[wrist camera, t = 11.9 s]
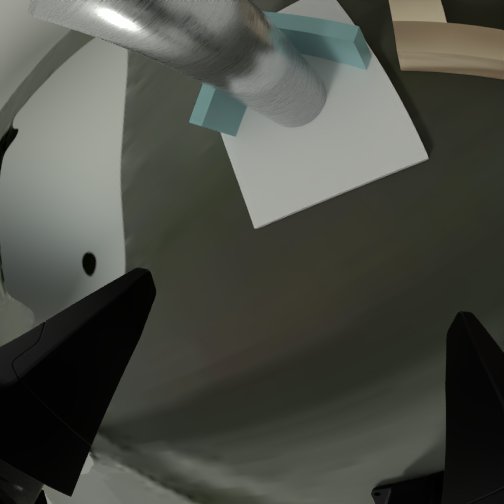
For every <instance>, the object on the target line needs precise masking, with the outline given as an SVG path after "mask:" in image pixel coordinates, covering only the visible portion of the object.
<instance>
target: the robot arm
mask: <svg viewBox="0 0 504 504" xmlns="http://www.w3.org/2000/svg"><path fill="white" fill-rule="evenodd" d="M155 296H156V288H155V285H154V281H153V278H152V275H151V272H150V271H149V270H148V269H144V268H135V269H133V270H131V271H130V272H128V273H126V274H124V275H123V276H121V277H119V278H117V279H116V280H114V281H113V282H111V283H109V284H107V285H105V286H104V287H102V288H100V289H98V290H97V291H95V292H93V293H92V294H90V295H88V296H86V297H85V298H83V299H81V300H80V301H78V302H76V303H75V304H73V305H71V306H70V307H68V308H66V309H65V310H63V311H61V312H60V313H58V314H56V315H55V316H53V317H51V318H50V319H48V320H46V322H43V323H41V324H40V325H39V326H37V327H35V328H33V329H32V330H30V331H28V332H27V333H25V334H23V335H21V336H19V337H18V338H16V339H14V340H12V341H10V342H8V343H6V344H5V345H3V346H1V347H0V504H47V500H46V497H45V493H44V490H42V488H43V486H44V484H45V485H47V486H49V487H51V488H53V489H55V490H57V491H59V492H61V493H63V494H65V495H68V496H70V497H71V496H72V494H73V491H74V489H75V486H76V483H77V481H78V478H79V476H80V473H81V471H82V468H83V465H84V463H85V460H86V458H87V456H88V453H89V451H90V448H91V445H92V443H93V441H94V438H95V436H96V434H97V431H98V429H99V426H100V424H101V422H102V420H103V417H104V415H105V413H106V410H107V408H108V406H109V404H110V401H111V399H112V397H113V395H114V392H115V390H116V388H117V386H118V384H119V381H120V379H121V377H122V375H123V373H124V371H125V369H126V366H127V364H128V362H129V360H130V358H131V356H132V354H133V352H134V350H135V347H136V345H137V343H138V341H139V339H140V337H141V334H142V332H143V329H144V326H145V323H146V321H147V318H148V315H149V312H150V310H151V307H152V304H153V302H154V299H155ZM445 392H446V453H445V471H442V472H439V473H435V474H432V475H428V476H424V477H420V478H416V479H412V480H408V481H404V482H399V483H394V484H389V485H384V486H379V487H375V488H373V490H372V493H371V495H372V497H373V499H374V501H375V503H376V504H504V353H503V351H502V350H501V349H500V347H499V346H498V345H497V343H496V342H495V341H494V339H493V338H492V337H491V336H490V334H489V333H488V332H487V330H486V329H485V328H484V327H483V325H482V324H481V323H480V322H479V320H478V319H477V318H476V317H475V316H474V314H473V313H471V312H463V311H460V312H458V313H457V315H456V317H455V319H454V321H453V322H452V324H451V326H450V328H449V330H448V333H447V339H446V380H445ZM378 492H379V493H378Z"/></svg>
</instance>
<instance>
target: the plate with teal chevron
mask: <svg viewBox="0 0 504 504" xmlns="http://www.w3.org/2000/svg"><path fill="white" fill-rule="evenodd" d="M263 13H264V14H265V15H266V16H267V17H268V18H269V19H270V20H271V21H272V22H273V23H274V24H275V25H276V26H277V27H278V29H279V30H280V31H281V32H282V33H283V34H284V35H285V36H286V37H287V38H288V39H289V41H290V42H291V43H292V44H293V45H294V46H295V47H296V49H297V50H298V51H299V52H300V53H301V54H302V56H303V57H304V58H305V59H306V60H307V61H308V63H309V64H310V65H311V66H312V67H313V69H314V70H315V71H316V72H317V74H318V75H319V76H320V77H321V79H322V80H323V82H324V84H325V87H326V101H325V105H324V107H323V109H322V111H321V112H320V114H319V115H318V116H317V117H316V118H315V119H314V120H313V121H311V122H309V123H308V124H306V125H303V126H300V127H293V128H290V127H283V126H280V125H278V124H276V123H275V122H273V121H271V120H270V119H268V118H266V117H264V116H263V115H261V114H259V113H257V112H256V111H254V110H252V109H250V108H249V107H247V106H245V105H243V104H241V103H240V102H238V101H236V100H234V99H232V98H230V97H229V96H227V95H225V94H223V93H221V92H219V91H217V90H215V89H213V88H211V87H209V86H207V85H205V84H203V86H202V88H201V91H200V94H199V96H198V99H197V102H196V104H195V107H194V110H193V113H192V115H191V118H190V121H189V123H193V124H196V125H199V126H203V127H206V128H209V129H212V130H215V131H219V132H220V133H221V135H222V138H223V141H224V144H225V147H226V149H227V152H228V155H229V158H230V160H231V163H232V166H233V169H234V172H235V174H236V177H237V180H238V183H239V186H240V188H241V191H242V194H243V197H244V200H245V203H246V205H247V208H248V211H249V214H250V217H251V220H252V222H253V225H254V228H260V227H263V226H265V225H268V224H270V223H272V222H275V221H277V220H280V219H282V218H284V217H287V216H289V215H292V214H294V213H296V212H299V211H301V210H304V209H306V208H309V207H311V206H313V205H316V204H318V203H321V202H323V201H326V200H328V199H330V198H333V197H335V196H338V195H340V194H343V193H345V192H348V191H350V190H353V189H355V188H358V187H360V186H363V185H365V184H368V183H370V182H373V181H375V180H378V179H380V178H383V177H385V176H388V175H390V174H393V173H395V172H398V171H400V170H403V169H405V168H408V167H410V166H413V165H415V164H418V163H421V162H423V161H426V160H428V155H427V153H426V151H425V148H424V146H423V144H422V142H421V140H420V137H419V135H418V133H417V131H416V129H415V127H414V125H413V123H412V121H411V119H410V117H409V115H408V113H407V111H406V109H405V107H404V105H403V103H402V101H401V99H400V97H399V96H398V94H397V92H396V90H395V88H394V87H393V85H392V83H391V81H390V80H389V78H388V76H387V74H386V73H385V71H384V69H383V68H382V66H381V64H380V63H379V61H378V59H377V58H376V56H375V55H374V53H373V52H372V50H371V48H370V47H369V45H368V44H367V42H366V41H365V39H364V36H363V34H362V32H361V29H360V27H359V26H355V25H354V23H353V22H352V21H351V19H350V18H349V16H348V15H347V14H346V12H345V11H344V10H343V8H342V7H341V6H340V4H339V3H338V2H337V0H299V1H297V2H296V3H294V4H292V5H290V6H288V7H286V8H284V9H282V10H281V11H279V12H277V13H273V12H263Z"/></svg>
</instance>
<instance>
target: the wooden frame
mask: <svg viewBox="0 0 504 504" xmlns="http://www.w3.org/2000/svg"><path fill="white" fill-rule="evenodd" d="M389 4H390V10H391V15H392V21H393V27H394V33H395V40H396V47H397V53H398V58H399V63H400V68H401V70H406V71H431V72H446V73H457V74H467V75H476V76H484V77H491V78H497V79H504V30H500V29H494V28H488V27H481V26H474V25H465V24H455V23H447V22H446V18H445V14H444V10H443V7H442V3H441V0H389Z"/></svg>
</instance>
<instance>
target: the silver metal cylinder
mask: <svg viewBox="0 0 504 504" xmlns="http://www.w3.org/2000/svg"><path fill="white" fill-rule="evenodd" d="M29 15H30V16H31V17H34V18H37V19H41V20H44V21H48V22H51V23H55V24H58V25H62V26H64V27H67V28H71V29H74V30H77V31H80V32H83V33H86V34H88V35H91V36H94V37H97V38H100V39H102V40H105V41H108V42H111V43H113V44H116V45H118V46H121V47H123V48H126V49H128V50H131V51H133V52H136V53H138V54H140V55H143V56H145V57H148V58H150V59H152V60H154V61H157V62H159V63H161V64H163V65H166V66H168V67H170V68H172V69H174V70H177V71H179V72H181V73H183V74H185V75H187V76H189V77H191V78H193V79H195V80H197V81H199V82H201V83H203V84H205V85H207V86H209V87H211V88H213V89H215V90H217V91H219V92H221V93H223V94H225V95H227V96H229V97H230V98H232V99H234V100H236V101H238V102H240V103H241V104H243V105H245V106H247V107H249V108H250V109H252V110H254V111H256V112H257V113H259V114H261V115H263V116H264V117H266V118H268V119H270V120H271V121H273V122H275V123H276V124H278V125H280V126H283V127H290V128H293V127H300V126H303V125H306V124H308V123H309V122H311V121H313V120H314V119H315V118H316V117H317V116H318V115H319V114H320V112H321V111H322V109H323V107H324V105H325V101H326V87H325V84H324V82H323V80H322V79H321V77H320V76H319V75H318V74H317V72H316V71H315V70H314V69H313V67H312V66H311V65H310V64H309V63H308V61H307V60H306V59H305V58H304V57H303V56H302V54H301V53H300V52H299V51H298V50H297V49H296V47H295V46H294V45H293V44H292V43H291V42H290V41H289V39H288V38H287V37H286V36H285V35H284V34H283V33H282V32H281V31H280V30H279V29H278V27H277V26H276V25H275V24H274V23H273V22H272V21H271V20H270V19H269V18H268V17H267V16H266V15H265V14H264V13H263V12H262V11H261V10H260V9H259V8H258V7H257V6H256V5H255V4H254V3H253V2H252V1H251V0H31V2H30V7H29Z"/></svg>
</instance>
